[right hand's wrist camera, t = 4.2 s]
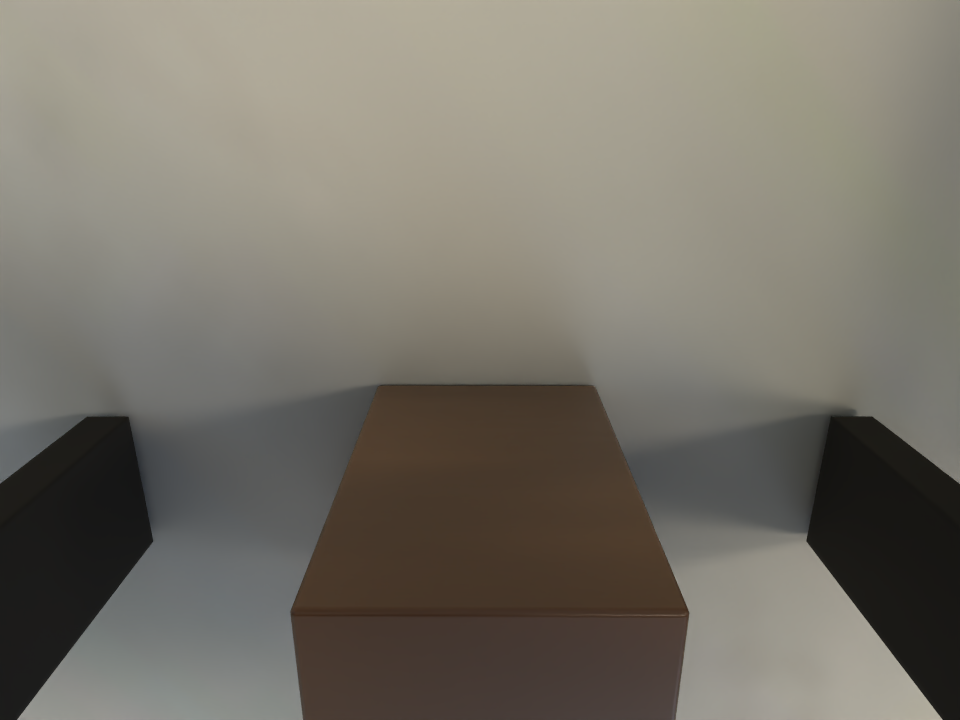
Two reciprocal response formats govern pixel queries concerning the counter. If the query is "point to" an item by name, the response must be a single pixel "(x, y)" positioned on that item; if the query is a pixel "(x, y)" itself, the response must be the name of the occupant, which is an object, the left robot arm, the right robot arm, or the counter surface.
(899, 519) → the right robot arm
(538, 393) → the walnut block
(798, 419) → the counter surface
